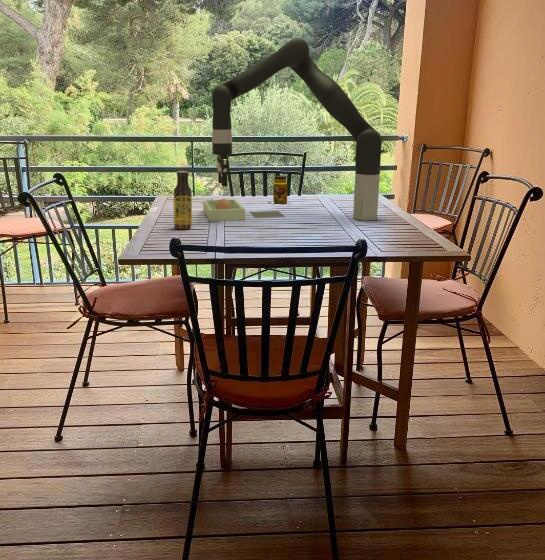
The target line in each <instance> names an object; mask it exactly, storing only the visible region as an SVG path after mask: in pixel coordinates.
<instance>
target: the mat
mask: <svg viewBox="0 0 545 560" xmlns="http://www.w3.org/2000/svg"><path fill="white" fill-rule="evenodd" d="M249 213H250V215H252V216H253V218H255V219H258V218H260V219H261V218H262V219H263V218H285V217H286V216H285V214H283V213H281V211H279V210H266V211H249Z"/></svg>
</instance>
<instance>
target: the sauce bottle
mask: <svg viewBox="0 0 545 560" xmlns="http://www.w3.org/2000/svg"><path fill="white" fill-rule="evenodd" d="M189 175H190V173H189V171H186V170H179V171H178V170H177V171H176V179H177V182H176V186H175V188H174V190H173V227H174V229H176V230H185V229H186V230H188V229H191V228H192V222H193V221H192V219H193V218H192V217H193V216H192V212H193V211H192V209H193V207H192V204H193V200H192V199H193V198H192V189H191V187H190V185H189Z"/></svg>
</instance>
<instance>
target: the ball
mask: <svg viewBox="0 0 545 560" xmlns="http://www.w3.org/2000/svg"><path fill="white" fill-rule="evenodd" d="M226 199H227V198H226ZM226 199H225V198H220V199H218V200H219V201H218V202H217V203H216V209H231V204H230V202H229V201H228V200H226Z"/></svg>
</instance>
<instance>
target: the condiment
mask: <svg viewBox="0 0 545 560" xmlns="http://www.w3.org/2000/svg"><path fill="white" fill-rule="evenodd" d="M272 190H273V191H272V193H273V194H272V195H273V197H272V198H273V201H272V202H274V204H281V205H291V203H290V202H288V182H287V176H286V175H275V176H274V179H273V189H272ZM287 203H288V204H287ZM274 204H273V205H274Z"/></svg>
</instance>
